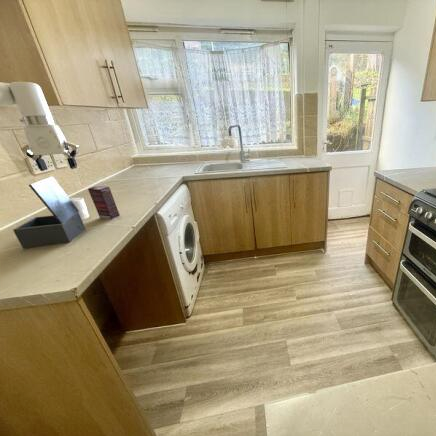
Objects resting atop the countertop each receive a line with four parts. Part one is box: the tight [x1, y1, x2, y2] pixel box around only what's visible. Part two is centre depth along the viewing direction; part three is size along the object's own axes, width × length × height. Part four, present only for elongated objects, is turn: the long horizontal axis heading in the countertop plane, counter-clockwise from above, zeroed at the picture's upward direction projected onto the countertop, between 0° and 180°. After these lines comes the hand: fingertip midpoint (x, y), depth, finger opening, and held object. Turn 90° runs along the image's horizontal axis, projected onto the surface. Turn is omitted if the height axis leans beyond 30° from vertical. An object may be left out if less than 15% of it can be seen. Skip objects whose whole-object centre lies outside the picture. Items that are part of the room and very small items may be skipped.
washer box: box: [12, 213, 86, 250], centre depth 100 cm, size 16×13×9 cm
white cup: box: [69, 196, 90, 221], centre depth 120 cm, size 8×8×10 cm
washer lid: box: [28, 176, 79, 224], centre depth 96 cm, size 16×13×1 cm
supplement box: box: [87, 185, 121, 220], centre depth 119 cm, size 9×5×16 cm, turn 71°
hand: (59, 169), depth 94 cm, fingers open, 9 cm apart
